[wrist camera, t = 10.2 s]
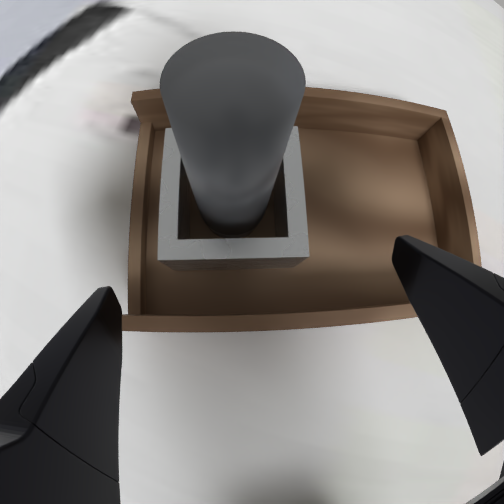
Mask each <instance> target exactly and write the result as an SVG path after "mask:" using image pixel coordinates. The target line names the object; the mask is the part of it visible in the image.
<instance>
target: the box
mask: <svg viewBox="0 0 504 504" xmlns="http://www.w3.org/2000/svg"><path fill="white" fill-rule="evenodd" d="M131 103H132V105H133V107H134V109H135V111H136V114H137V116H138V118H139V120H140V122H141V125H140V131H139V138H138V146H137V153H136V161H135V170H134V180H133V190H132V202H131V215H130V232H129V255H128V314H125V315H122V331H140V332H243V331H269V330H288V329H304V328H318V327H331V326H342V325H353V324H363V323H372V322H381V321H390V320H398V319H406V318H413V317H418V316H417V314H416V312H415V310H414V309H413V307H412V305H411V303H410V301H409V299H408V297H407V295H406V293H405V290H404V288H403V286H402V284H401V281H400V279H399V277H398V275H397V273H396V270H395V268H394V266H393V264H392V253H393V248H394V242H395V239H396V237H398V236H402V235H409V236H412V237H414V238H417V239H419V240H421V241H424V242H426V243H428V244H431V245H433V246H436V247H438V248H440V249H442V250H445V251H447V252H449V253H452V254H454V255H456V256H458V257H460V258H463V259H465V260H467V261H469V262H471V263H474V264H476V265H478V266H480V267H482V266H481V257H480V249H479V241H478V234H477V228H476V222H475V216H474V211H473V206H472V201H471V196H470V191H469V187H468V183H467V178H466V174H465V170H464V167H463V163H462V159H461V156H460V152H459V149H458V145H457V142H456V139H455V135H454V132H453V129H452V126H451V123H450V120H449V118H448V115H447V112H446V111H445V110H441V109H438V108H434V107H430V106H425V105H421V104H417V103H412V102H407V101H402V100H397V99H392V98H387V97H381V96H375V95H369V94H363V93H356V92H348V91H340V90H331V89H322V88H311V87H305V92H304V95H303V98H302V101H301V105H300V108H299V111H298V114H297V117H296V120H295V123H294V126H298V132H299V141H300V150H301V159H302V169H303V180H304V191H305V202H306V214H307V227H308V242H309V257H308V258H307V259H305V260H304V261H303V262H301V263H300V264H298V265H297V266H295V267H294V268H276V269H237V270H186V271H174V270H172V269H171V268H169V267H168V266H166V265H164V264H163V263H161V262H160V261H158V224H159V203H160V186H161V172H162V160H163V149H164V138H165V129H166V128H171V124H170V121H169V118H168V115H167V112H166V109H165V105H164V102H163V99H162V96H161V92H160V89H152V90H144V91H136V92H133V93H132V98H131ZM242 238H276V231H275V211H274V193H273V189H272V192H271V195H270V199H269V202H268V205H267V208H266V211H265V214H264V216H263V218H262V220H261V221H260V222H259V224H258V225H257V226H256V227H255V229H254V230H253V231H252V232H251V233H250V234H248V235H247V236H245V237H242ZM190 239H226V238H222V237H220V236H218V235H217V234H215V233H214V232H213V231H212V230H211V229H210V228H209V226H208V225H207V224H206V223H205V222H204V220H203V218H202V217H201V214H200V211H199V209H198V206H197V203H196V200H195V197H194V194H193V191H192V188H191V198H190Z"/></svg>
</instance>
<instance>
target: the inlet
mask: <svg viewBox="0 0 504 504" xmlns="http://www.w3.org/2000/svg"><path fill="white" fill-rule="evenodd" d="M273 193H274V211H275V231H276V238H227V239H190V198H191V185H190V182H189V179H188V176H187V173H186V170H185V167H184V164H183V161H182V158H181V155H180V152H179V149H178V146H177V143H176V140H175V137H174V134H173V131H172V128H166V129H165V138H164V149H163V160H162V172H161V186H160V203H159V224H158V261H160V262H161V263H163V264H164V265H166V266H168V267H169V268H171V269H172V270H174V271H186V270H237V269H276V268H294V267H295V266H297V265H298V264H300V263H301V262H303V261H304V260H305V259H307V258H308V257H309V242H308V227H307V214H306V202H305V191H304V180H303V169H302V159H301V150H300V141H299V132H298V126H293V129H292V132H291V135H290V138H289V141H288V144H287V147H286V150H285V153H284V156H283V159H282V162H281V165H280V168H279V171H278V174H277V177H276V180H275V183H274V186H273Z"/></svg>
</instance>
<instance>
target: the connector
mask: <svg viewBox="0 0 504 504" xmlns="http://www.w3.org/2000/svg"><path fill="white" fill-rule="evenodd" d="M305 85H306V81H305V74H304V71H303V68H302V66H301V64H300V63H299V61H298V60H297V58H296V57H295V56H294V55H293V54H292V53H291V52H290V51H289V50H288V49H287V48H285V47H284V46H282V45H281V44H279V43H277V42H276V41H274V40H272V39H269V38H267V37H264V36H261V35H257V34H252V33H246V32H221V33H215V34H210V35H207V36H204V37H201V38H198V39H196V40H194V41H191V42H190V43H188V44H186V45H184V46H183V47H182V48H180V49H179V50H178V51H177V52H176V53H175V54H173V55H172V57H171V58H170V59H169V60H168V62H167V63H166V65H165V67H164V69H163V71H162V74H161V78H160V92H161V96H162V99H163V102H164V105H165V109H166V112H167V115H168V118H169V121H170V124H171V128H172V131H173V134H174V137H175V140H176V143H177V146H178V149H179V152H180V155H181V158H182V161H183V164H184V167H185V170H186V173H187V176H188V179H189V182H190V185H191V188H192V191H193V194H194V197H195V200H196V203H197V206H198V209H199V211H200V214H201V217H202V218H203V220H204V222H205V223H206V224H207V225H208V226H209V228H210V229H211V230H212V231H213V232H214V233H215V234H217V235H218V236H220V237H222V238H226V239H227V238H242V237H245V236H247V235H248V234H250V233H251V232H252V231H253V230H254V229H255V227H256V226H257V225H258V224H259V222H260V221H261V220H262V218H263V216H264V214H265V211H266V208H267V205H268V202H269V199H270V195H271V192H272V189H273V186H274V183H275V180H276V177H277V174H278V171H279V168H280V165H281V162H282V159H283V156H284V153H285V150H286V147H287V144H288V141H289V138H290V135H291V132H292V129H293V126H294V123H295V120H296V117H297V114H298V111H299V108H300V105H301V101H302V98H303V95H304V92H305Z"/></svg>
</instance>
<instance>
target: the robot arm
mask: <svg viewBox="0 0 504 504" xmlns="http://www.w3.org/2000/svg"><path fill="white" fill-rule="evenodd" d="M392 264H393V266H394V268H395V270H396V273H397V275H398V277H399V279H400V281H401V284H402V286H403V288H404V290H405V293H406V295H407V297H408V299H409V301H410V303H411V305H412V307H413V309H414V310H415V312H416V314H417V316H418V318H419V320H420V321H421V323H422V325H423V327H424V329H425V331H426V333H427V335H428V337H429V339H430V340H431V342H432V344H433V346H434V348H435V350H436V352H437V354H438V356H439V358H440V361H441V363H442V365H443V367H444V369H445V371H446V373H447V375H448V377H449V380H450V382H451V384H452V386H453V388H454V391H455V393H456V395H457V397H458V400H459V402H460V403H461V404H460V405H461V407H462V410H463V412H464V414H465V417H466V419H467V422H468V424H469V427H470V429H471V432H472V435H473V437H474V440H475V443H476V445H477V448H478V451H479V453H480V455H481V456H482V455H484V454H485V453H487V452H488V451H490V450H491V449H492V448H494V447H495V446H497V445H498V444H499V443H501V442H502V441H503V440H504V278H503V277H501V276H499V275H497V274H495V273H494V274H493V273H492V272H491V271H488V270H486V269H484V268H482V267H480V266H478V265H476V264H474V263H471V262H469V261H467V260H465V259H463V258H460V257H458V256H456V255H454V254H452V253H449V252H447V251H445V250H442V249H440V248H438V247H436V246H433V245H431V244H428V243H426V242H424V241H421V240H419V239H417V238H414V237H412V236H409V235H402V236H398V237H396V239H395V242H394V248H393V253H392ZM121 367H122V309H121V306H120V304H119V302H118V299H117V297H116V295H115V293H114V291H113V289H112V288H111V287H110V286H107V287H101V288H98V289H97V290H96V291H95V292H94V293H93V294H92V295H91V296H90V297H89V298H88V299H87V300H86V301H85V303H84V304H83V305H82V306H81V307H80V308H79V309H78V310H77V311H76V312H75V313H74V314H73V316H72V317H71V318H70V319H69V320H68V321H67V322H66V323H65V324H64V326H63V327H62V328H61V329H60V330H59V331H58V332H57V333H56V335H55V336H54V337H53V338H52V339H51V340H50V341H49V343H48V344H47V345H46V346H45V347H44V348H43V350H42V351H41V352H40V353H39V354H38V356H37V357H36V358H35V359H34V360H33V363H31V364H30V365H29V366H28V368H27V369H26V370H25V371H24V372H23V374H22V375H21V376H20V377H19V378H18V380H17V381H16V382H15V383H14V384H13V385H12V386H11V388H10V389H9V390H8V391H7V392H6V393H5V394H4V395H3V396H2V398H1V399H0V504H120V488H119V483H118V482H119V462H118V429H119V399H120V381H121ZM465 504H504V462H503V466H502V470H501V474H500V478H499V480H498V481H497V482H495V483H494V484H493V485H491V486H490V487H489V488H487V489H486V490H485V491H483V492H482V493H480V494H479V495H477V496H476V497H475V498H473V499H472V500H470V501H469V502H467V503H465Z"/></svg>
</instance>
